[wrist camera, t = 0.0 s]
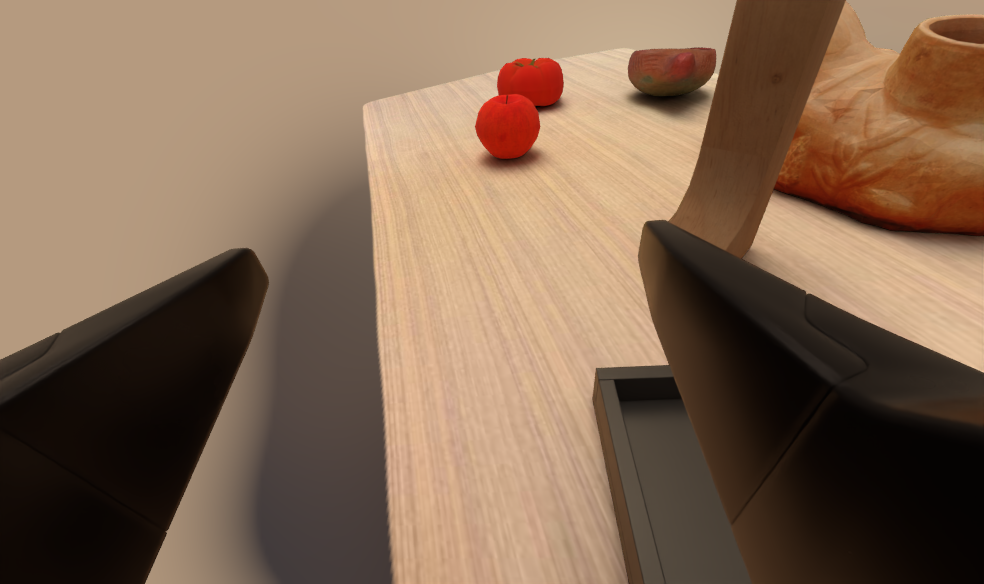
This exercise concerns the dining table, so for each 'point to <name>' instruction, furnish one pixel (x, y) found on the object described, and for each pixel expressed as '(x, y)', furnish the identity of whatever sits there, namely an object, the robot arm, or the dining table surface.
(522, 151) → the apple
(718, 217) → the wooden block
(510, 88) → the tomato
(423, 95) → the dining table surface
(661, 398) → the mount
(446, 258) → the dining table surface
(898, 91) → the ceramic vessel
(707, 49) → the bowl
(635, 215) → the dining table surface
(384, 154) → the dining table surface
